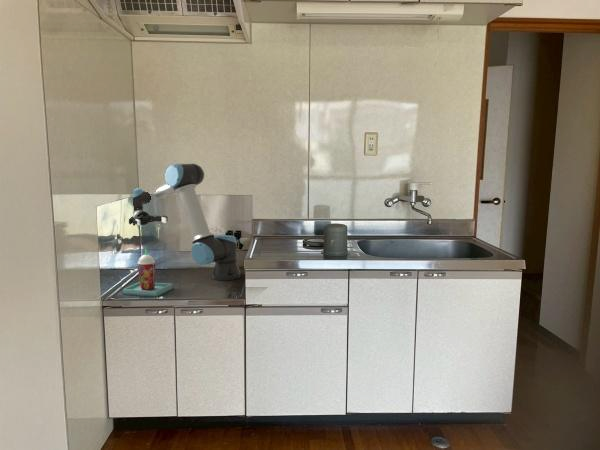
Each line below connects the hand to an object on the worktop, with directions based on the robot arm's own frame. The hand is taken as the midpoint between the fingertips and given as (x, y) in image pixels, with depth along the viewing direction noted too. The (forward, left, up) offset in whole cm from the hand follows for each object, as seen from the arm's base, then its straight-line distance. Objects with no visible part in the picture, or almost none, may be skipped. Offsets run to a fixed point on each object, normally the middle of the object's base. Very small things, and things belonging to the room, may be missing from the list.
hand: (153, 221), depth 234 cm
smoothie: (-5, +16, -31) cm, 35 cm away
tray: (-5, +16, -32) cm, 36 cm away
